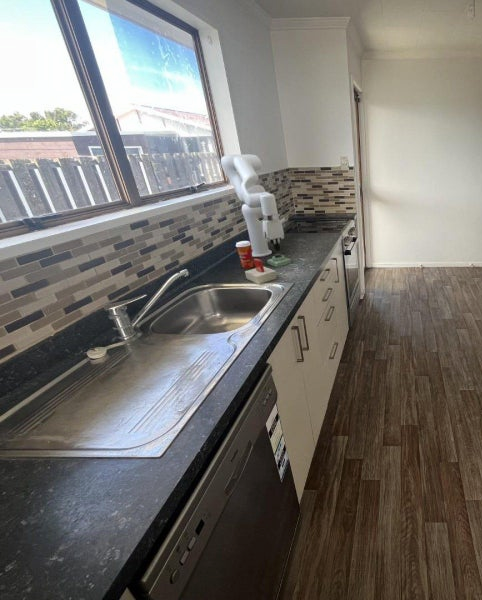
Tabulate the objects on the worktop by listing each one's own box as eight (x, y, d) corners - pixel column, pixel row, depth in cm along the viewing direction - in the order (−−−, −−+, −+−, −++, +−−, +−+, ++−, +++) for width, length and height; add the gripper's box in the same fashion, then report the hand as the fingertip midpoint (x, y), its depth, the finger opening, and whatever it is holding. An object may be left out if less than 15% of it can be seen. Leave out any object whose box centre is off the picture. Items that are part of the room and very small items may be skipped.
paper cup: (237, 268, 183) (231, 243, 177) (248, 263, 189) (243, 240, 183) (248, 269, 180) (242, 245, 174) (258, 265, 187) (253, 241, 181)
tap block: (246, 278, 168) (244, 271, 166) (264, 273, 175) (262, 265, 173) (258, 284, 161) (257, 276, 159) (276, 278, 168) (275, 270, 166)
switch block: (267, 263, 189) (266, 257, 187) (281, 259, 195) (280, 253, 194) (277, 267, 183) (275, 260, 182) (291, 263, 189) (290, 256, 188)
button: (273, 257, 187) (273, 254, 187) (279, 256, 190) (278, 253, 189) (277, 258, 185) (276, 255, 185) (282, 257, 188) (282, 254, 187)
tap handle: (255, 270, 167) (253, 258, 165) (258, 269, 168) (256, 257, 166) (261, 272, 164) (259, 260, 161) (264, 271, 165) (262, 259, 163)
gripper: (279, 214, 185) (285, 246, 193) (254, 219, 175) (261, 252, 183) (287, 216, 181) (292, 248, 189) (262, 220, 171) (268, 254, 178)
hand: (277, 250), depth 186 cm, fingers closed
